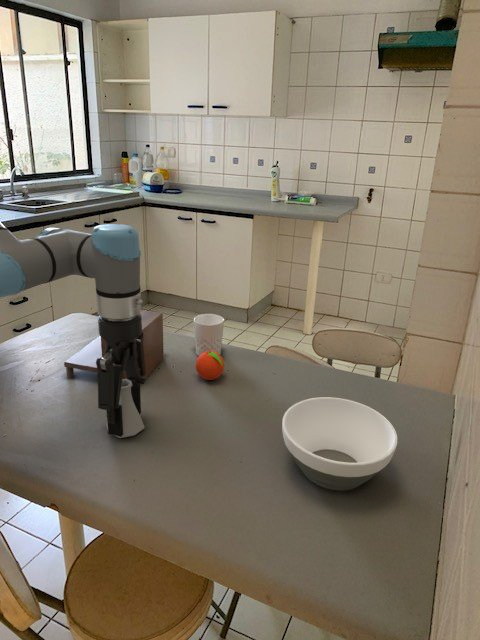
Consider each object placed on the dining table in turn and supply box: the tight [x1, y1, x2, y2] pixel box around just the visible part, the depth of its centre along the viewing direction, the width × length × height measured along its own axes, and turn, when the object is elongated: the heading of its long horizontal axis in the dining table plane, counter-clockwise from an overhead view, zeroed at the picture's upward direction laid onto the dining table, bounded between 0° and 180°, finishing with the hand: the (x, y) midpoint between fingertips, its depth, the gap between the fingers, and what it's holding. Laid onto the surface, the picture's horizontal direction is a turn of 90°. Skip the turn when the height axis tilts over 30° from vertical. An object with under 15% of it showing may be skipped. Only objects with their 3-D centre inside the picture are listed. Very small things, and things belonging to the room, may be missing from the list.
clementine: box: [195, 351, 225, 381], centre depth 111 cm, size 8×7×7 cm
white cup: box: [193, 313, 225, 357], centre depth 124 cm, size 8×8×10 cm
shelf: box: [63, 309, 165, 380], centre depth 113 cm, size 17×18×13 cm
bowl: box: [281, 396, 398, 491], centre depth 82 cm, size 20×20×10 cm
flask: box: [105, 379, 145, 439], centre depth 89 cm, size 7×7×10 cm
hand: (125, 422), depth 91 cm, fingers closed on flask, 7 cm apart
